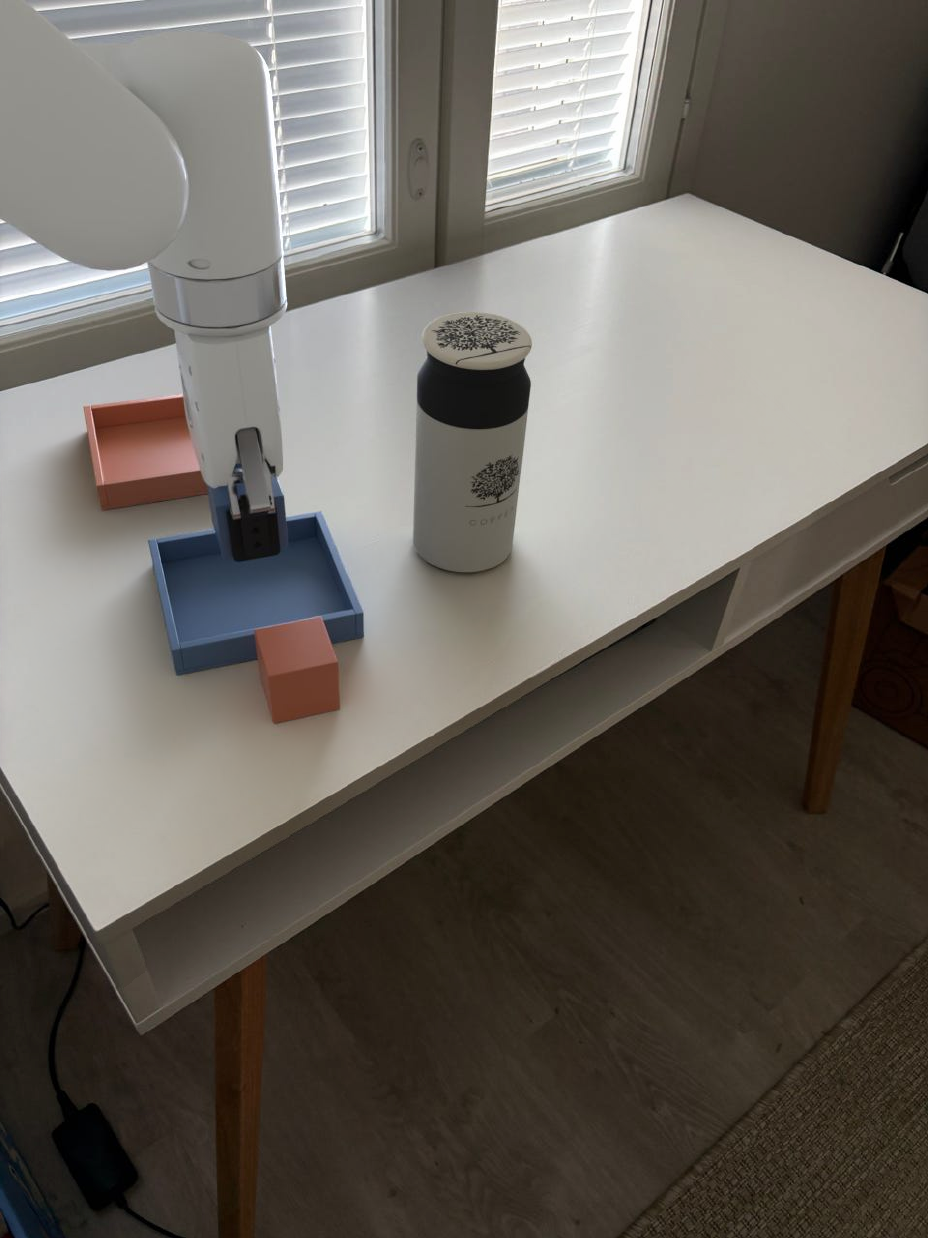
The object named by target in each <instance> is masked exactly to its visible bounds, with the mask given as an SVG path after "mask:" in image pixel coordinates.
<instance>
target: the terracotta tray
mask: <svg viewBox="0 0 928 1238" xmlns="http://www.w3.org/2000/svg"><path fill="white" fill-rule="evenodd" d="M83 414H84V419H85V425H86V431H87V438H88V444H89V451H90V457H91V462H92V468H93V475H94V481H95V487H96V491H97V495H98V496H97V497H98V499H99V500H98V501H99V504H100V508H101V511H105V510H106V511H107V510H112V509H113V510H114V509H119V508H126V507H131V506H138V505H144V504H145V505H146V504H152V503H158V502H163V501H170V500H178V499H185V498H189V497H196V496H202V495H208V491H207V485H206V483H205V481H204V479H203V476H202V473H201V470H200V467H199V464H198V460H197V457H196V454H195V450H194V447H193V443H192V439H191V436H190V432H189V428H188V425H187V420H186V415H185V408H184V399H183V393H177V394H170V395H162V396H154V397H146V398H139V399H130V400H123V401H116V402H107V403H99V404H91V405H85V406H83Z"/></svg>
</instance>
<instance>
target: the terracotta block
mask: <svg viewBox="0 0 928 1238" xmlns="http://www.w3.org/2000/svg"><path fill="white" fill-rule="evenodd" d="M254 633H255V641H256V650H257V658H258V659H257V666H258V673H259V679H260V683H261V685H262V690H263V693H264V696H265V700H266V704H267V707H268V710H269V714H270V717H271V720H272V723H273V724H279V723H283V722H287V721H292V720H297V719H301V718H305V717H309V716H314V715H319V714H323V713H327V712H332V711H336V710H340V709H341V694H340V673H339V672H340V671H339V670H340V669H339V660H338V658H337V655H336V652H335V649H334V647H333V644H331V641H330V639H329V636H328V633H327V630H326V628H325V625H324V622H323V620H322V617H315V618H310V619H305V620H300V621H295V622H290V623H284V624H279V625H274V626H269V627H264V628H259V629H255V630H254Z"/></svg>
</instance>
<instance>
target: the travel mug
mask: <svg viewBox="0 0 928 1238" xmlns="http://www.w3.org/2000/svg"><path fill="white" fill-rule="evenodd" d="M421 342H422V345H423V347H424V349H425V350H426V356H427V357H426V359H425V361H424V362H423V364H422V365H421V367H420V368H419V370H418V371H417V372H418V373H417V376H416V408H415V410H416V411H415V412H416V413H415V444H414V445H415V446H414V447H415V449H414V478H413V479H414V485H413V516H412V517H413V519H412V520H413V521H412V522H413V523H412V544H413V547H414V549H415V550H416V552H417V553H418V555H420V557H421V558H422V559H423V560H424V561H426V562H427V563H430V565H432V566H435V567H437V568H439V569H442V570H445V571H450V572H456V573H476V572H482V571H486V570H489V569H492V568H495V567H496V566H498V565H500V564H502V563H503V562H504V561H505V560H506V559H507V558H508V557H509V556H510V554H511V552H512V550H513V544H514V537H515V536H514V535H515V529H516V528H515V527H516V520H517V519H516V517H517V512H518V511H517V510H518V499H519V493H520V484H521V475H522V467H523V457H524V450H525V441H526V440H525V439H526V430H527V423H528V422H527V421H528V414H529V413H528V412H529V405H530V397H531V396H530V395H531V386H532V381H531V378H530V376H529V374H528V370H527V369H526V367H525V365H524V364H525V360H526V357H528V355H529V354H530V352H531V350H532V347H533V340H532V337H531V335H530V333H529V332H528V330H527V329H526V328H524V326H522V325H520V324H519V323H518V322H516V321H514V320H512V319H510V318H507V317H504V316H502V315H498V314H493V313H489V312H479V311H463V312H461V311H460V312H455V313H449V314H446V315H443V316H440V317H438V318H435V319H434V320H432V321H431V322H430V323H428V324H427V325H426V327H424V329H423V331H422V334H421Z"/></svg>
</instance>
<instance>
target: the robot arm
mask: <svg viewBox="0 0 928 1238" xmlns="http://www.w3.org/2000/svg"><path fill="white" fill-rule="evenodd" d="M271 85H272V84H271V78H270V73H269V68H268V66H267V64H266V61H265V59H264V58H263V56H262V55H261V53H260V52H259V51H258V49H256V48H255V47H254V46H252V45H251V44H250V43H249V42H247V41H245V40H243V39H241V38H237V37H234V36H232V35H228V34H224V33H220V32H215V31H214V32H213V31H202V30H174V31H165V32H158V33H154V34H150V35H147V36H144V37H141V38H139V39H135V40H134V41H132V42H129V43H128V42H124V43H123V42H121V43H107V42H105V43H103V42H99V43H98V42H74V41H73V40H71V39H70V38H69V37H68V36H67V35H65V34H64V33H63V32H62V31H61V30H59V28H57V27H56V26H55V25H54V24H53V23H51V21H50V20H48V19H47V18H46V17H44V16H43V15H42V14H41V13H40V12H38V11H37V10H36V9H35V8H34V7H33V6H31V4H29V3H28V2H27V1H26V0H0V220H1V221H3V222H4V223H6V224H8V225H9V226H10V227H12V228H14V229H16V230H17V231H19V232H20V233H22V234H23V235H25V236H26V237H27V238H29V239H31V240H32V241H34V242H36V243H37V244H38V245H40V246H42V247H43V248H45V249H47V250H48V251H50V252H52V253H53V254H55V255H56V256H58V257H60V258H61V259H63V260H65V261H67V262H70V263H72V264H74V265H78V266H81V267H84V268H87V269H91V270H99V271H107V272H108V271H109V272H111V271H123V270H124V271H126V270H130V269H133V268H137V267H140V266H142V265H145V264H147V270H148V271H147V272H148V275H149V283H150V288H151V293H152V300H153V305H154V312H155V315H156V317H157V318H158V320H159V321H160V322H161V323H162V324H164V325H165V326H166V327H168V328H169V329H171V330H174V339H175V347H176V352H177V353H176V354H177V361H178V369H179V375H180V382H181V390H182V394H183V399H184V408H185V415H186V420H187V425H188V428H189V432H190V436H191V439H192V443H193V447H194V450H195V454H196V457H197V460H198V464H199V467H200V470H201V473H202V476H203V479H204V481H205V483H206V484H207V485H209V486H210V487H212V488H217V487H219V486H227V492H228V499H229V505H230V511H226V515H227V522H228V529H229V537H230V544H231V551H232V556H233V559H234V561H236V562H242V561H248V560H253V559H259V558H264V557H270V556H275V555H278V554H279V553H280V539H279V528H278V518H277V507H276V505H275V503H274V497H273V489H272V482H271V476H272V475H273V477H274V478H275V479H276V478H279V477H280V476H281V474H282V473H283V471H284V450H283V449H284V448H283V433H282V432H283V431H282V421H281V420H282V419H281V409H280V399H279V390H278V380H277V370H276V369H277V368H276V358H275V352H274V343H273V335H272V327H271V326H272V325H274V324H276V323H277V322H278V321H279V320H281V318H283V316H284V315H285V314H286V312H287V310H288V309H287V308H288V298H287V288H286V274H285V273H286V271H285V260H284V245H283V232H282V231H283V230H282V219H281V218H282V217H281V216H282V215H281V203H280V190H279V188H280V187H279V178H278V177H279V176H278V161H277V148H276V135H275V121H274V110H273V109H274V107H273V95H272V94H273V93H272V86H271ZM235 464H240V466H241V468H236V469H234V467H235ZM238 483H244V486H245V495H240V497H239V499H238V493H237V487H236V484H238Z"/></svg>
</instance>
